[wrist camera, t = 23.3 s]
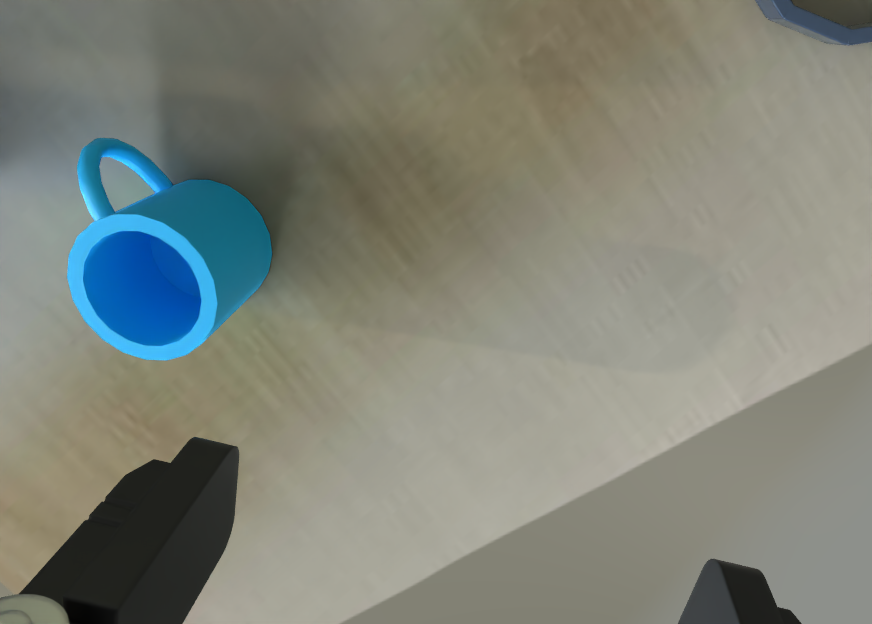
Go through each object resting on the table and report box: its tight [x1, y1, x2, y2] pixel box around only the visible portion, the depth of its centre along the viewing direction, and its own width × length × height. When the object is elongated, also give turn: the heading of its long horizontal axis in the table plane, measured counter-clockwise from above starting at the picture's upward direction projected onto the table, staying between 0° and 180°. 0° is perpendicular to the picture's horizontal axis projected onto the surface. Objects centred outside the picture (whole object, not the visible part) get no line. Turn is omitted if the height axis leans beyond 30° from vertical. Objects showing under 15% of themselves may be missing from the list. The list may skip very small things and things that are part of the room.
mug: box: [67, 138, 272, 360], centre depth 39 cm, size 12×8×8 cm
